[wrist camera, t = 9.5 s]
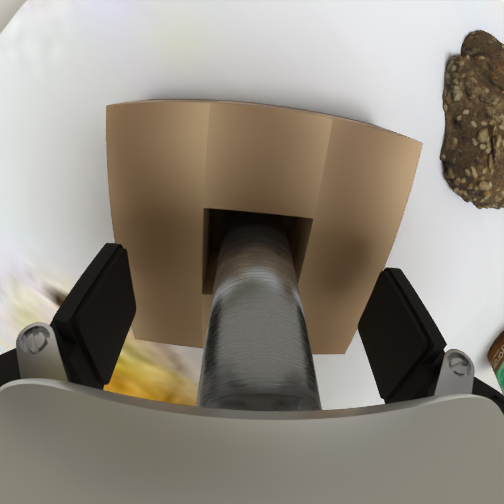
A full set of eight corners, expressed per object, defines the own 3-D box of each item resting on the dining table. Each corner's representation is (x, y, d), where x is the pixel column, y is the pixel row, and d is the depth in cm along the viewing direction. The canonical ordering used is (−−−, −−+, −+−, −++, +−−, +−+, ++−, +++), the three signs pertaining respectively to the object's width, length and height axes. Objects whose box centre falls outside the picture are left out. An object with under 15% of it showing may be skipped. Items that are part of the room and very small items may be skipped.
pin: (286, 196, 15) (340, 392, 5) (277, 246, 16) (304, 441, 7) (228, 190, 14) (191, 388, 5) (224, 241, 16) (198, 438, 7)
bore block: (374, 125, 13) (422, 142, 9) (328, 299, 20) (344, 354, 15) (149, 99, 13) (106, 105, 8) (156, 284, 19) (135, 338, 15)
